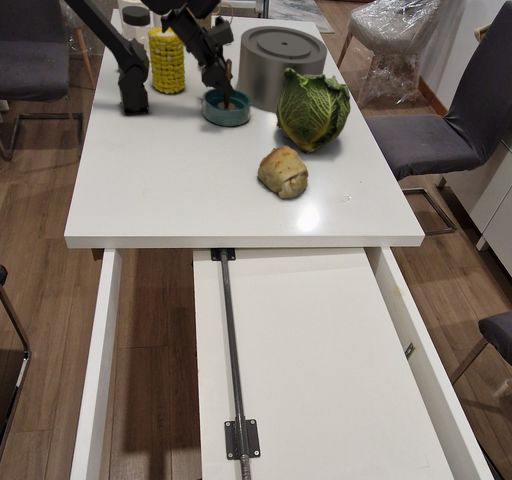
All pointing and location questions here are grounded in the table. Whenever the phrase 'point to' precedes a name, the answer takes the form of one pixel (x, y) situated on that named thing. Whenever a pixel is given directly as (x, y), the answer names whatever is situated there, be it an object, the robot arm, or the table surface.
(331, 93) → the vegetable
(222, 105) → the rounded top peg stand
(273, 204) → the table surface
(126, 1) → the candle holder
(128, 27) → the jar
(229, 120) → the bowl
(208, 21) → the mug
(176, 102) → the table surface
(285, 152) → the pastry
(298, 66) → the container
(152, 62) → the food
